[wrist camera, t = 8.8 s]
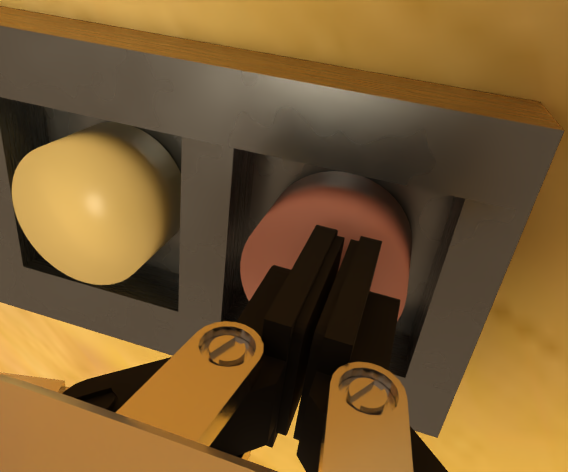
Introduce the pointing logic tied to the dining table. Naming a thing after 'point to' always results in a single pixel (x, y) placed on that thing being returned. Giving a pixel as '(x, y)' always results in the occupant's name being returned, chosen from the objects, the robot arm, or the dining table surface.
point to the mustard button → (98, 201)
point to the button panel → (273, 180)
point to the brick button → (337, 215)
